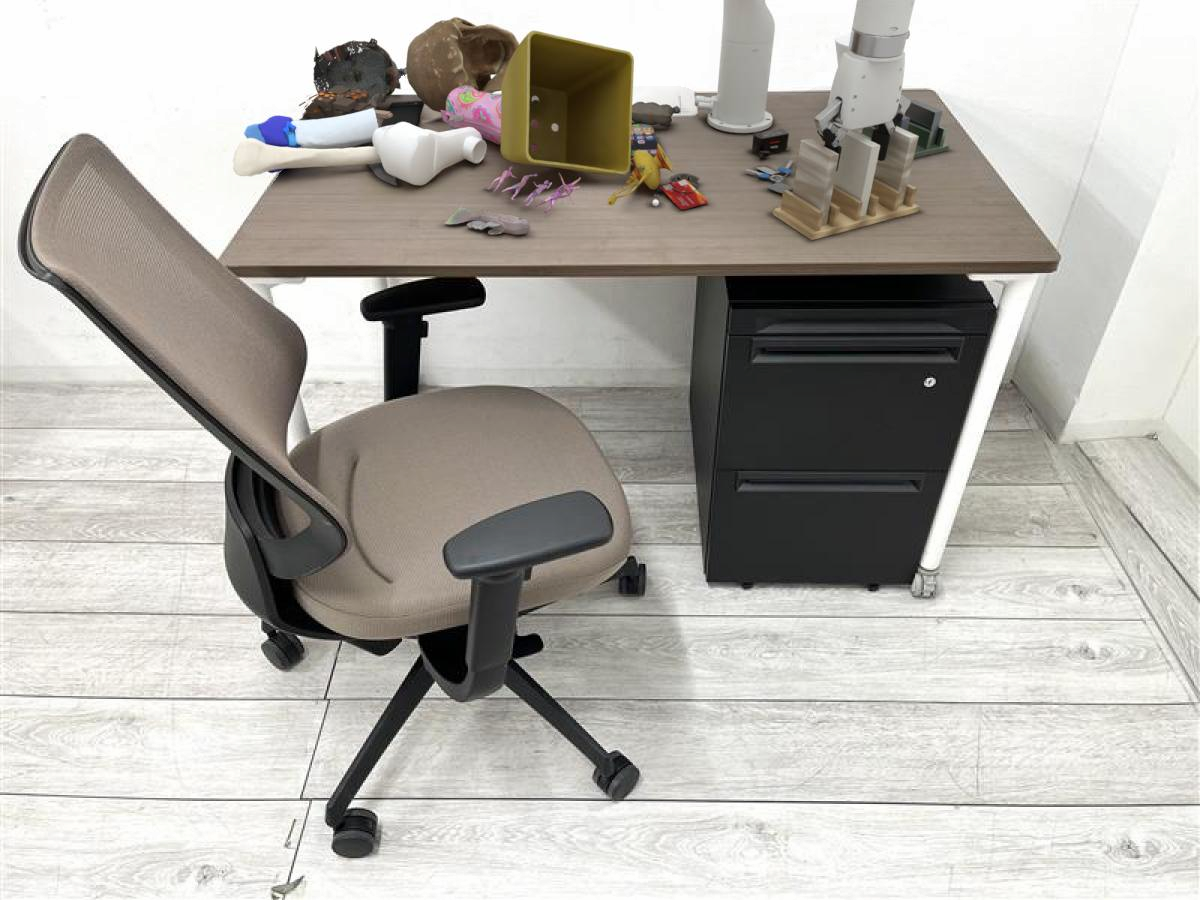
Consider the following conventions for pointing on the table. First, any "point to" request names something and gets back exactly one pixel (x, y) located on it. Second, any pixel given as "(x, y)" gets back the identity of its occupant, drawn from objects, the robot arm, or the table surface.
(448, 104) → the pencil case
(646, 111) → the rhino figurine
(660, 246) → the table surface
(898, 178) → the beige rack
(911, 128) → the green rack
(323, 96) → the video game creature
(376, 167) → the knife
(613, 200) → the magic lamp
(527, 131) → the flower pot
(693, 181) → the corroded twin loop
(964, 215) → the table surface
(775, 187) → the key chain
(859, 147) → the white book
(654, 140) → the smartphone
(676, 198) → the card
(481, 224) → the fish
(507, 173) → the people figure
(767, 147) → the wireless earbuds
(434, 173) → the white plastic bottle
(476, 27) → the skull
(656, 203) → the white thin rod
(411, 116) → the smartphone
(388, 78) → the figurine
